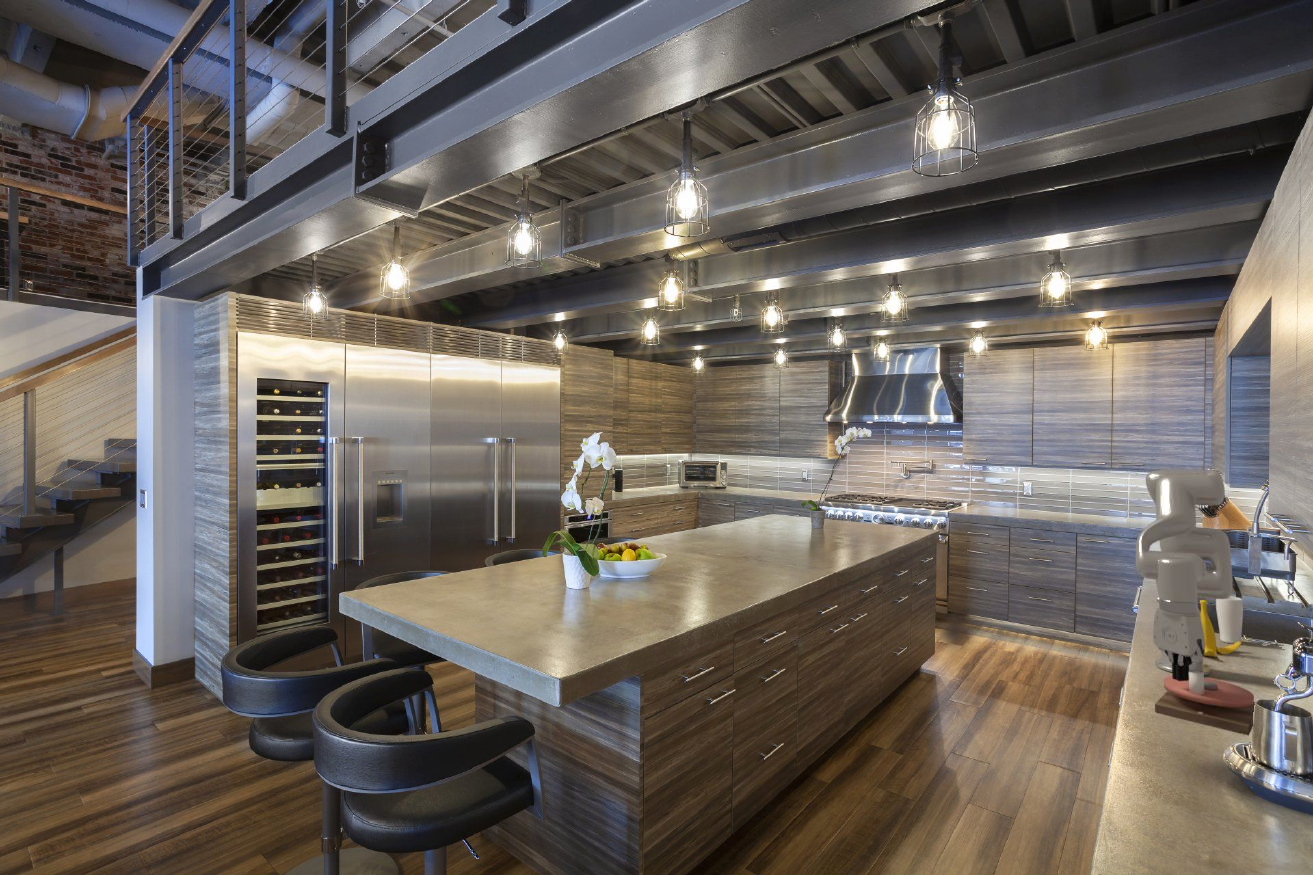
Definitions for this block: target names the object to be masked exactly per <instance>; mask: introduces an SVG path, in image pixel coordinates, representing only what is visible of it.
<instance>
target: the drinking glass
mask: <svg viewBox="0 0 1313 875" xmlns="http://www.w3.org/2000/svg"><path fill="white" fill-rule="evenodd" d="M1243 605H1244V604H1243V598H1241V597H1236V596H1233V595H1231V596H1230V597H1229V598H1227V599H1215V608H1216V616H1217V622H1218V623H1217V624H1218V629H1219V638H1220V641H1221V642H1224V643H1226V644H1230V645H1233V644H1235V643H1237V642H1241V643H1242V632H1243V618H1244V606H1243Z"/></svg>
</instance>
